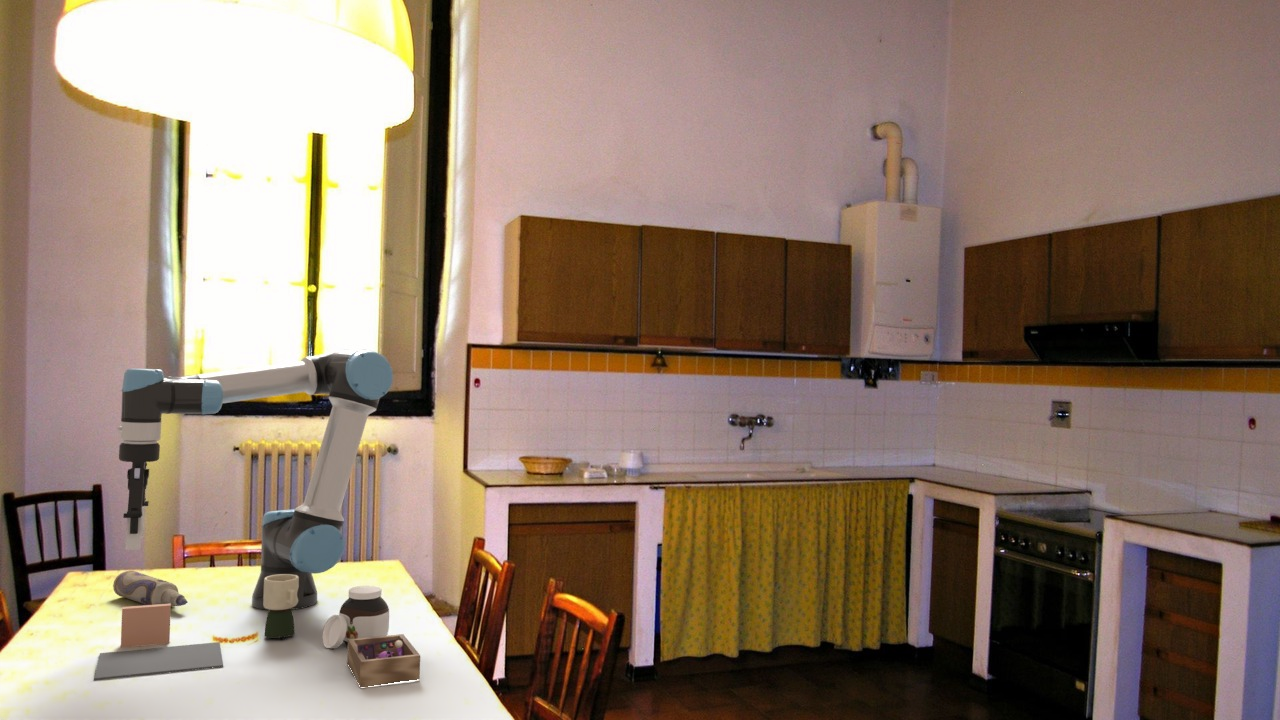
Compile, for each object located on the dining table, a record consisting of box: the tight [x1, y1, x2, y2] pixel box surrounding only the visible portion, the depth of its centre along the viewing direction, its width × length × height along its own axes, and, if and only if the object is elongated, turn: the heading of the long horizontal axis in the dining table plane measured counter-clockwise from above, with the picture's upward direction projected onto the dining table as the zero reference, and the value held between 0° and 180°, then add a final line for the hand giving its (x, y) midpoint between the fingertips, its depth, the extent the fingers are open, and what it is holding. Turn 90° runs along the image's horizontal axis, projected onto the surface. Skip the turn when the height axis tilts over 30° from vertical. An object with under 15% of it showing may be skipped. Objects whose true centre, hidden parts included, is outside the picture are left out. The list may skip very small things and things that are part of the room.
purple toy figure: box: [357, 639, 404, 660], centre depth 184 cm, size 7×5×9 cm
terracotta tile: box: [120, 604, 172, 648], centre depth 197 cm, size 9×2×8 cm, turn 116°
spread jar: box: [322, 585, 390, 649], centre depth 201 cm, size 12×11×12 cm
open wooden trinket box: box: [346, 633, 421, 688], centre depth 184 cm, size 11×15×5 cm
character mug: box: [263, 574, 299, 639], centre depth 205 cm, size 11×7×13 cm, turn 49°
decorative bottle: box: [112, 570, 188, 607], centre depth 227 cm, size 26×8×7 cm, turn 55°
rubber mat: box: [93, 641, 224, 681], centre depth 187 cm, size 22×16×1 cm
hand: (134, 543), depth 197 cm, fingers open, 13 cm apart
